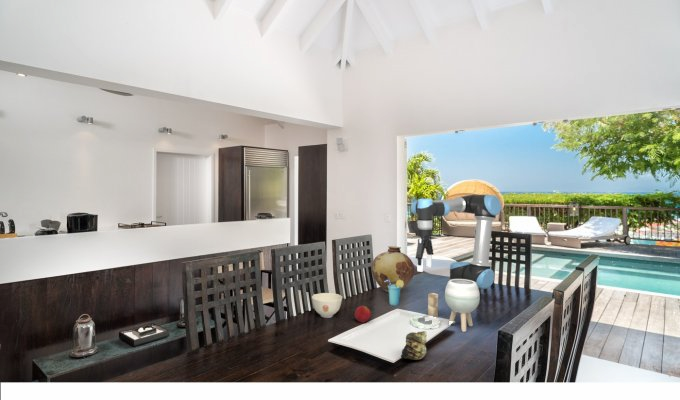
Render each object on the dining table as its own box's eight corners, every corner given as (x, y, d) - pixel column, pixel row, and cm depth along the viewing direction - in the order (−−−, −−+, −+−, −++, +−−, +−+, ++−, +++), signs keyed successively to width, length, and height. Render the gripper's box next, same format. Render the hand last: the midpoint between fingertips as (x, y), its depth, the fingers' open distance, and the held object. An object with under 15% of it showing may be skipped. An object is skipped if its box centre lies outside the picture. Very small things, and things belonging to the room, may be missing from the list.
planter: (479, 324, 194) (479, 279, 193) (479, 335, 179) (480, 286, 178) (445, 320, 199) (446, 276, 199) (442, 331, 184) (443, 283, 183)
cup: (388, 307, 220) (388, 281, 220) (379, 304, 226) (379, 278, 226) (406, 304, 228) (406, 278, 227) (397, 301, 234) (397, 276, 234)
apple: (360, 325, 190) (360, 309, 190) (352, 320, 197) (352, 304, 197) (373, 323, 194) (373, 307, 193) (364, 318, 201) (365, 303, 201)
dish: (425, 318, 203) (425, 313, 203) (445, 326, 191) (445, 320, 191) (404, 322, 195) (404, 317, 195) (424, 331, 183) (424, 325, 183)
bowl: (347, 313, 208) (347, 295, 208) (333, 322, 194) (334, 302, 194) (320, 309, 215) (320, 291, 215) (305, 318, 200) (306, 298, 200)
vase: (384, 285, 274) (385, 242, 274) (420, 291, 258) (421, 246, 258) (362, 293, 251) (363, 246, 251) (401, 300, 235) (401, 251, 235)
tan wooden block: (432, 315, 208) (433, 292, 207) (437, 317, 205) (437, 294, 204) (427, 316, 206) (428, 293, 206) (432, 318, 203) (433, 295, 203)
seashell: (395, 352, 158) (395, 328, 158) (423, 352, 159) (423, 327, 159) (401, 364, 148) (402, 337, 147) (431, 363, 149) (431, 337, 148)
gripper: (425, 226, 215) (425, 264, 216) (409, 230, 194) (409, 272, 195) (439, 226, 211) (439, 265, 212) (423, 231, 190) (423, 274, 191)
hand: (424, 269), depth 203 cm, fingers open, 13 cm apart
